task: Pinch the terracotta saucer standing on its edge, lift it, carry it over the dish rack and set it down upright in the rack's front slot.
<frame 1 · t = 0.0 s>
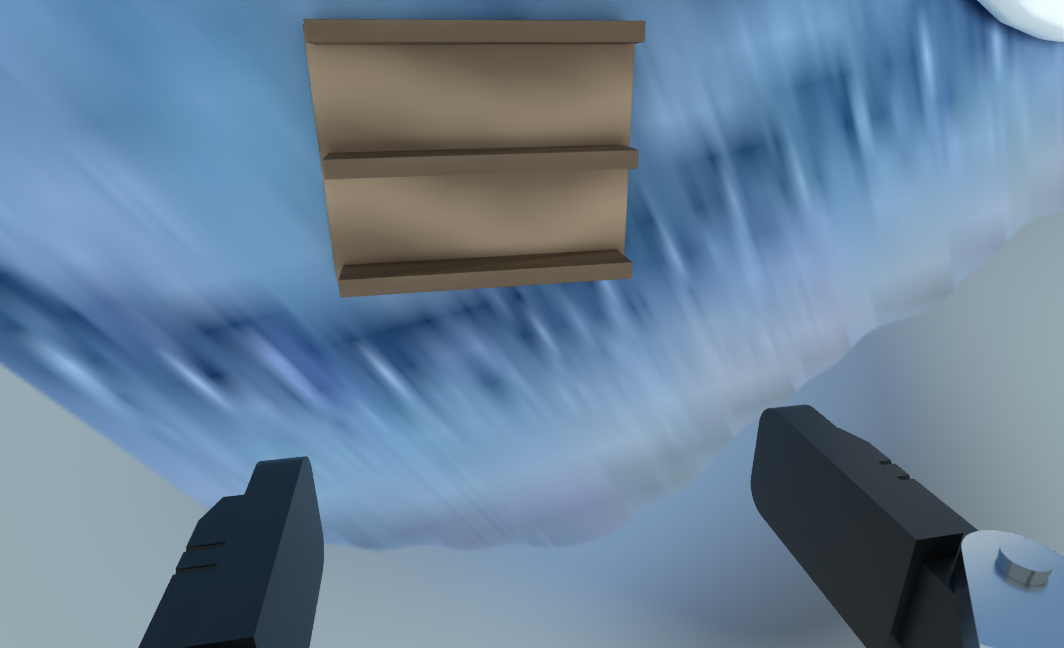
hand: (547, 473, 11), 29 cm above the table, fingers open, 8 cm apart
dish rack: (479, 154, 37), on the table
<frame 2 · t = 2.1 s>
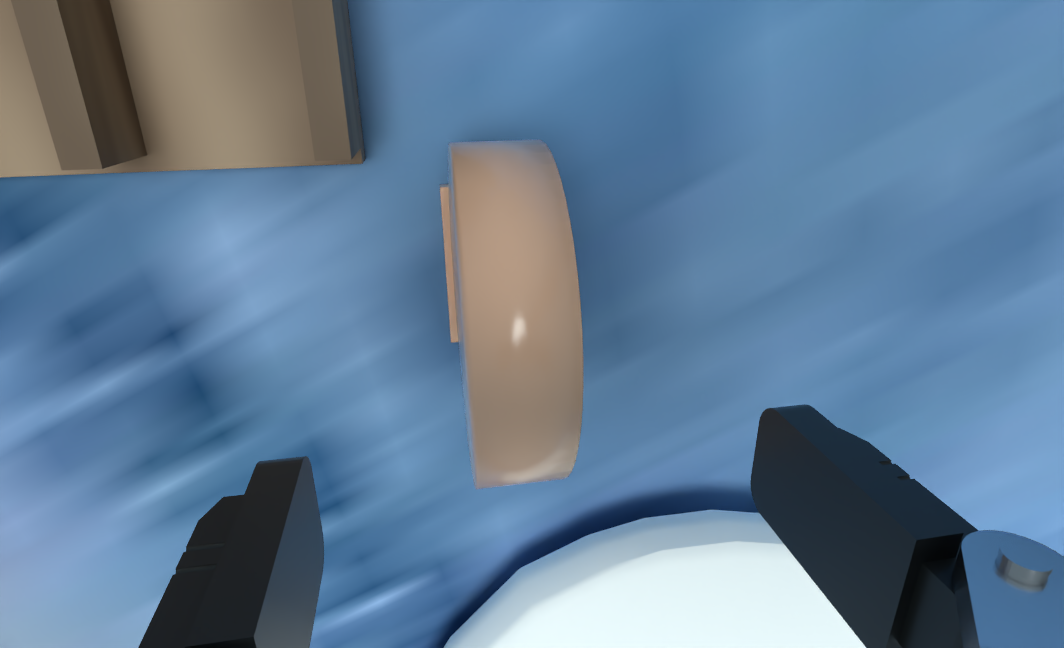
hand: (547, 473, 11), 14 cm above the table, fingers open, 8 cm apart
saucer: (484, 261, 24), on the table
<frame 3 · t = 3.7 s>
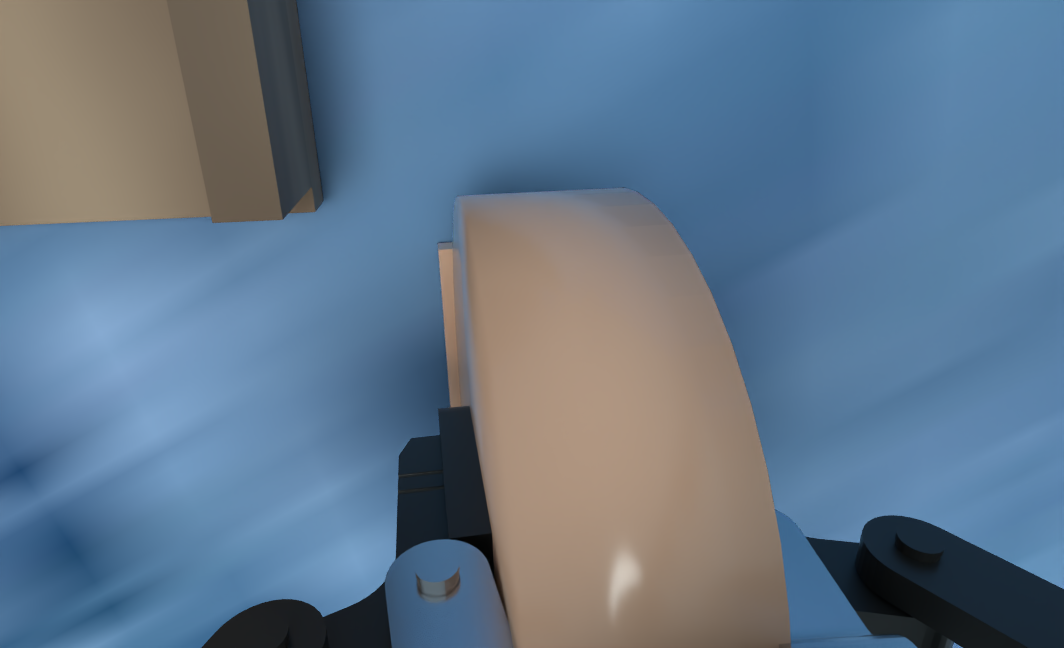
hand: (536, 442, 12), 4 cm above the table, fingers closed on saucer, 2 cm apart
saucer: (506, 355, 16), on the table, touching gripper
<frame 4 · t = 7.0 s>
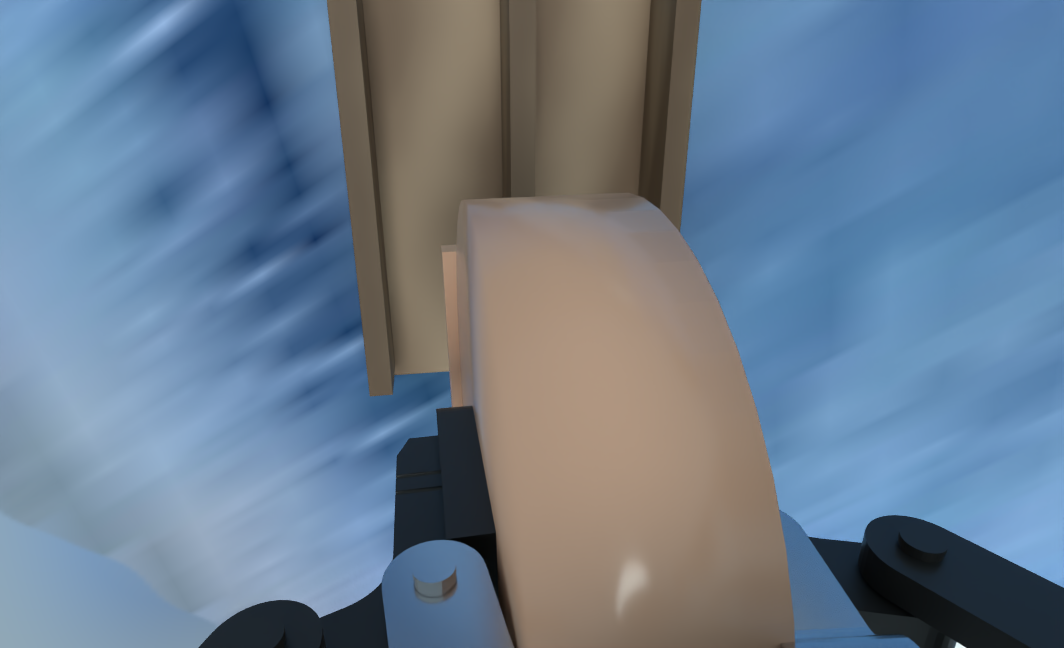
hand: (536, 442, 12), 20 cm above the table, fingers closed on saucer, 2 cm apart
saucer: (508, 357, 16), point 16 cm above the table, touching gripper
dish rack: (509, 185, 30), on the table
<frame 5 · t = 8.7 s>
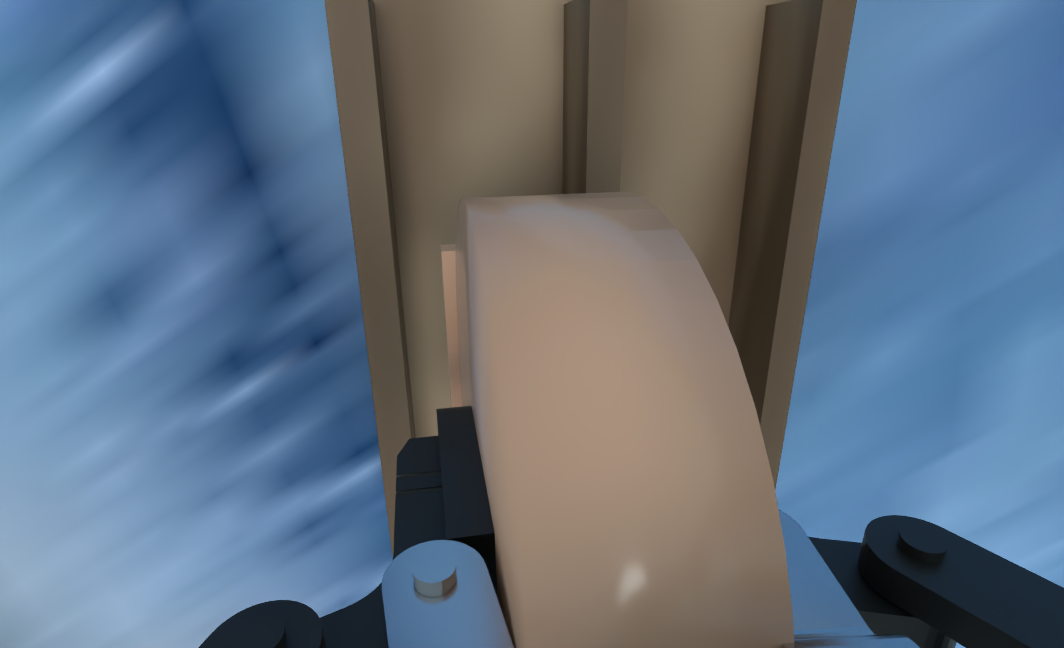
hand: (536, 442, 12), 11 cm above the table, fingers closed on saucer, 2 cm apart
saucer: (507, 357, 16), point 7 cm above the table, touching gripper
dish rack: (567, 266, 23), on the table
when the fingers open (7 cm above the table, at t = 10.2 s): saucer drops 2 cm, resting on dish rack.
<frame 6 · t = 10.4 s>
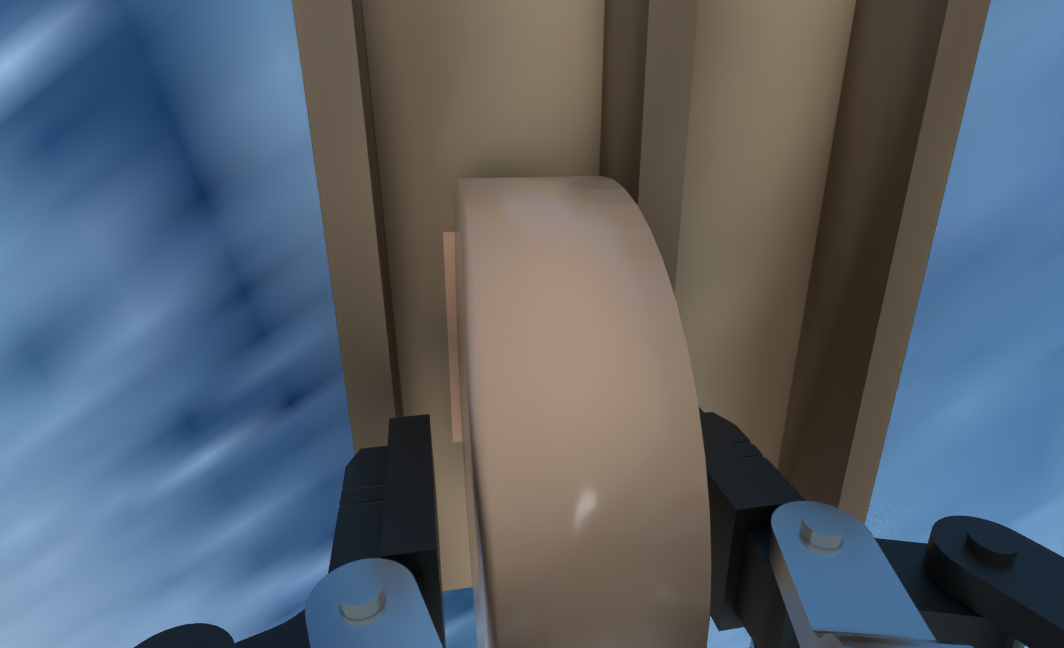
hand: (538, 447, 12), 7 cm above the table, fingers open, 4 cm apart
saucer: (502, 332, 17), point 1 cm above the table, touching dish rack
dish rack: (599, 306, 19), on the table
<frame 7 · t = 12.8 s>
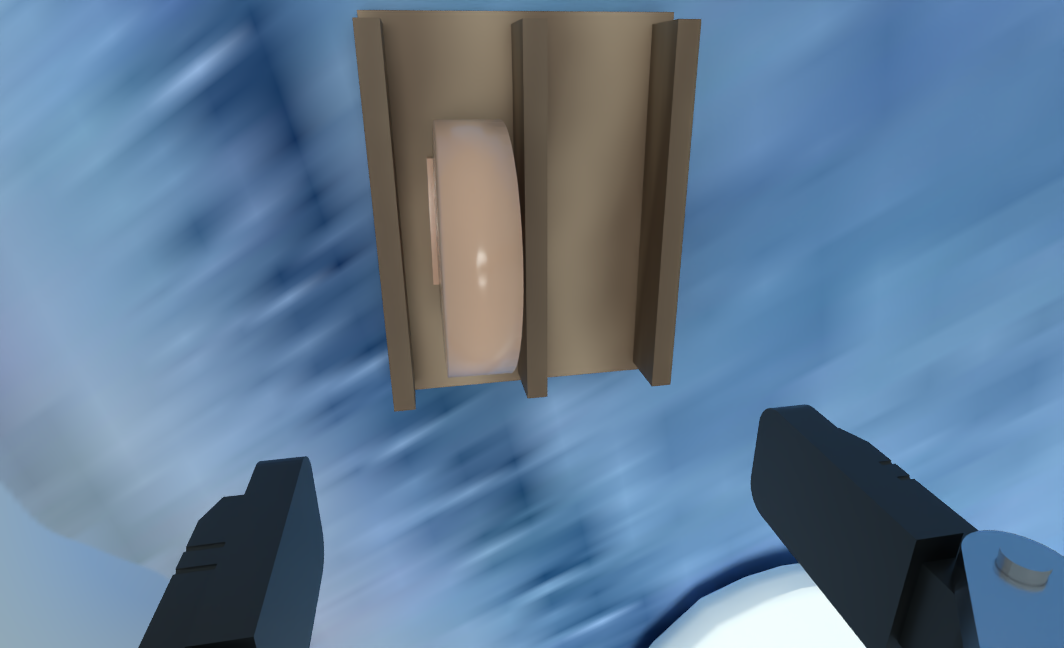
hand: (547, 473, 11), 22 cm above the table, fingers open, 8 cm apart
saucer: (461, 220, 30), point 1 cm above the table, touching dish rack
dish rack: (520, 210, 31), on the table
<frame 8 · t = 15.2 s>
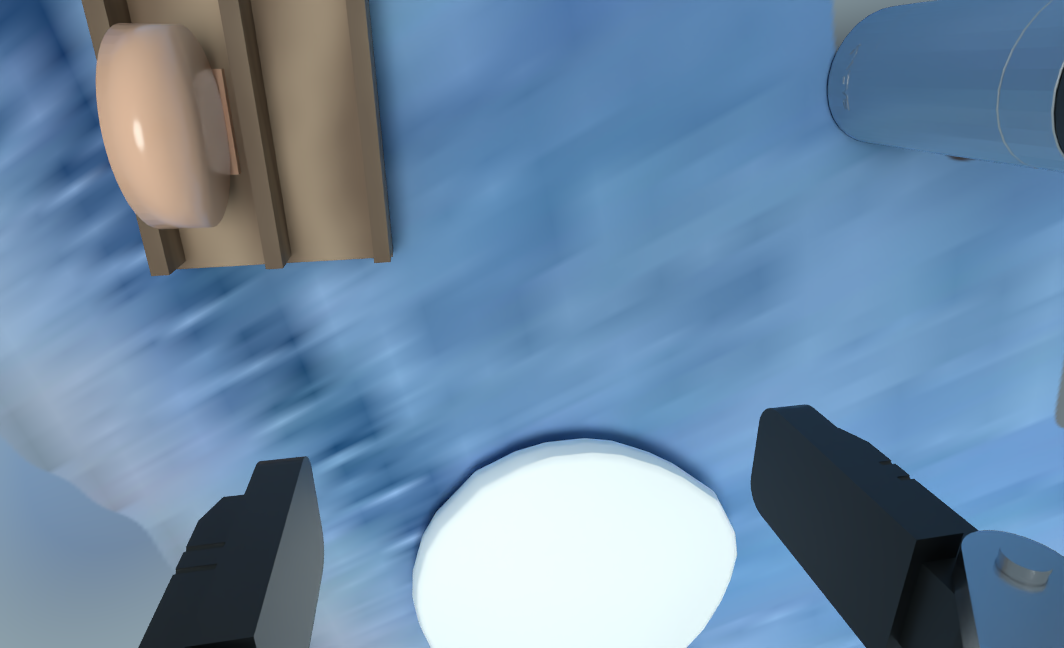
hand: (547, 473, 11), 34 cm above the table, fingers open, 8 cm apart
saucer: (206, 122, 37), point 1 cm above the table, touching dish rack
dish rack: (265, 119, 39), on the table
plate: (567, 549, 57), on the table
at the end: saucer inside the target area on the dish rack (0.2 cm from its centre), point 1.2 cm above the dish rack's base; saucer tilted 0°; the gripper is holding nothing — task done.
